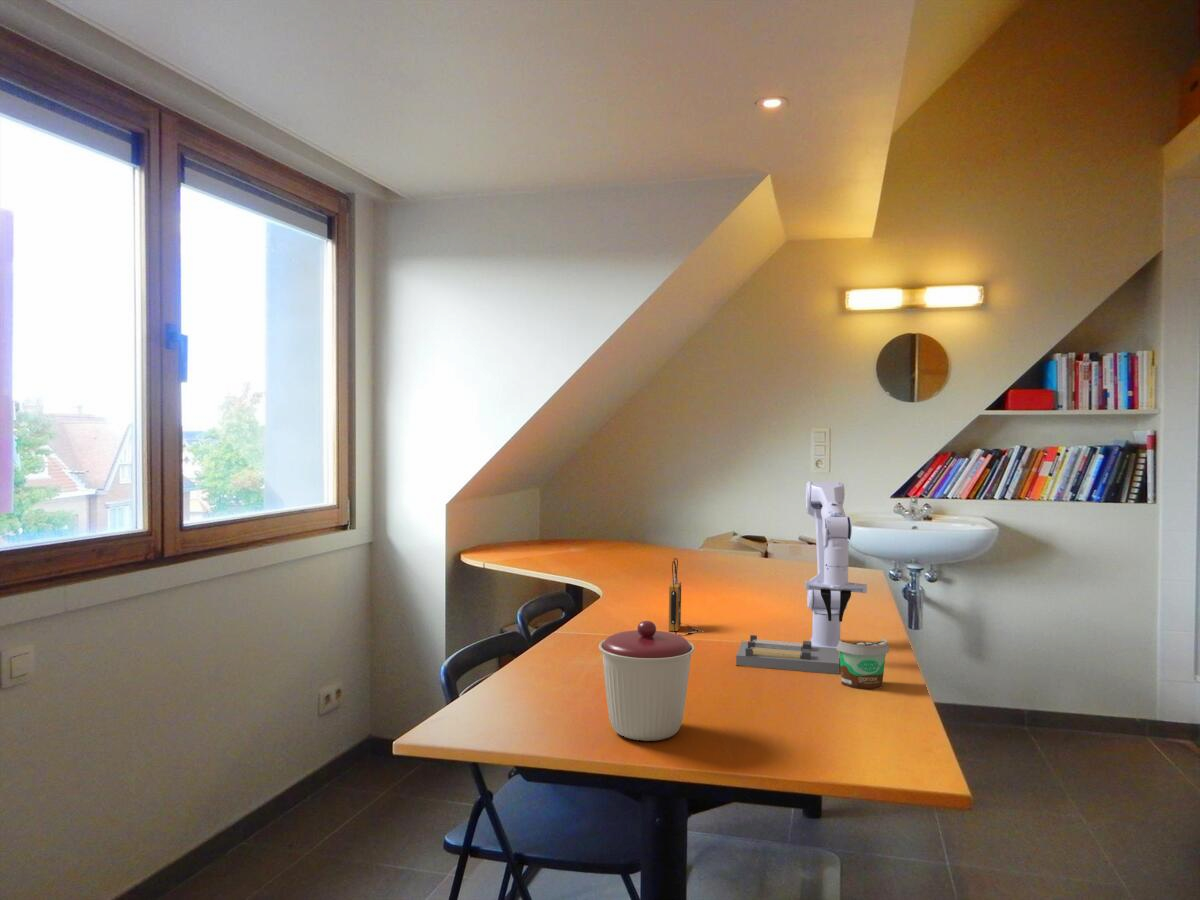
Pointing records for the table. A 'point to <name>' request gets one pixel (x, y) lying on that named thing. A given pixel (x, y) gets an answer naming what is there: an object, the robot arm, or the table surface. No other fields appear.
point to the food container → (862, 664)
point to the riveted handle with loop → (675, 603)
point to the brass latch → (776, 653)
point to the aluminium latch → (777, 644)
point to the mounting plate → (809, 659)
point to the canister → (646, 681)
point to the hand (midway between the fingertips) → (835, 620)
